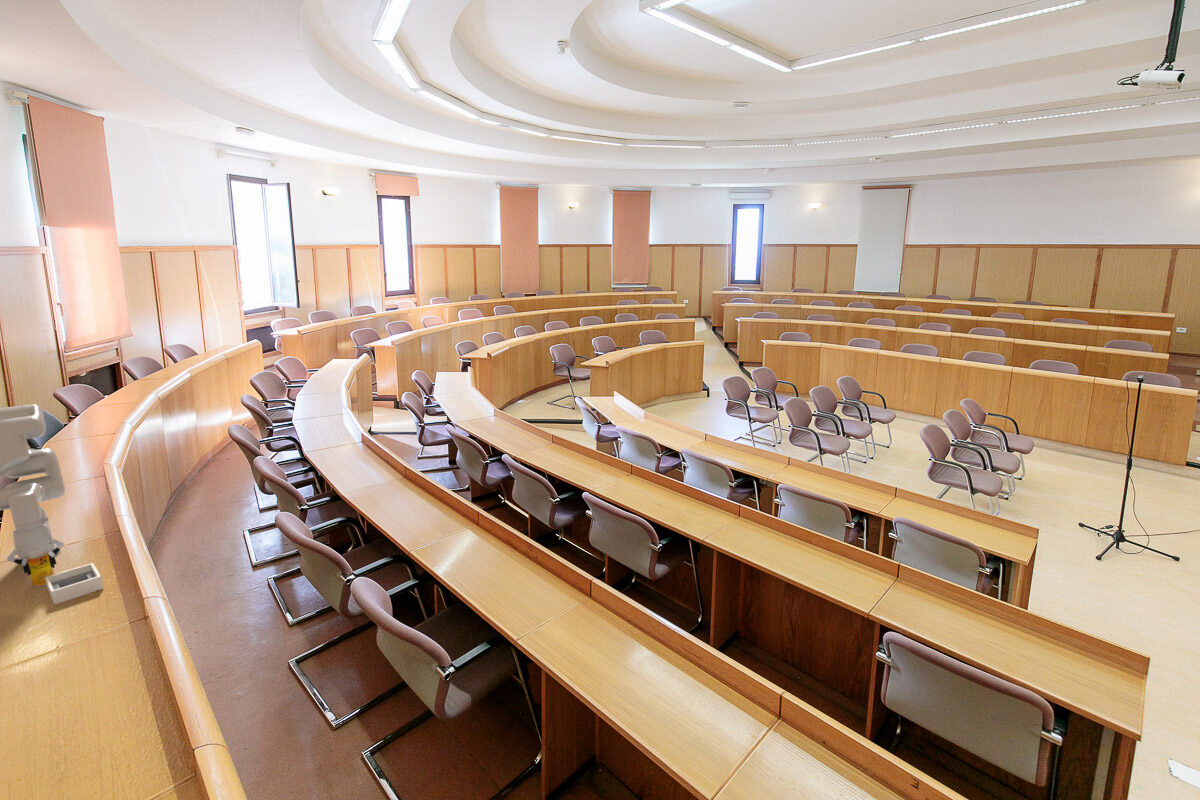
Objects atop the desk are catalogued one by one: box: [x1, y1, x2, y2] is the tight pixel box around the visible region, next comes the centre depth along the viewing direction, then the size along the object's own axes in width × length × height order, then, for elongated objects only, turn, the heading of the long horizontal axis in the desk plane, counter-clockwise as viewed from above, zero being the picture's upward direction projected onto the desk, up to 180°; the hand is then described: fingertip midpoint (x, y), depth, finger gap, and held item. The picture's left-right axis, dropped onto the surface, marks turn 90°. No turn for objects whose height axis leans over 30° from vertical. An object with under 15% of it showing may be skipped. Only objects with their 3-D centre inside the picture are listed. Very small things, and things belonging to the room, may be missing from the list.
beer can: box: [27, 548, 54, 588], centre depth 223 cm, size 6×6×15 cm
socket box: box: [45, 562, 104, 605], centre depth 221 cm, size 14×14×5 cm
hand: (40, 569), depth 224 cm, fingers closed on beer can, 6 cm apart
